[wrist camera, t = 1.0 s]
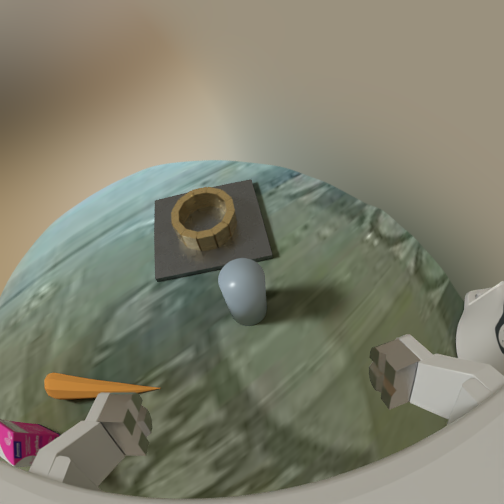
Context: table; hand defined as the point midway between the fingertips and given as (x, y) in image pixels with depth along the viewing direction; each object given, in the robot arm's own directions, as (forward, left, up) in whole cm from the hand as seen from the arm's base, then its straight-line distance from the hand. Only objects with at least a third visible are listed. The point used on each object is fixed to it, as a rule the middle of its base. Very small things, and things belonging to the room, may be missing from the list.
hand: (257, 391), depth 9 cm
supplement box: (+37, +6, -28) cm, 47 cm away
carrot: (+24, -3, -28) cm, 37 cm away
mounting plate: (+4, -28, -28) cm, 40 cm away
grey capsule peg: (0, -13, -28) cm, 31 cm away
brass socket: (+4, -28, -28) cm, 40 cm away
